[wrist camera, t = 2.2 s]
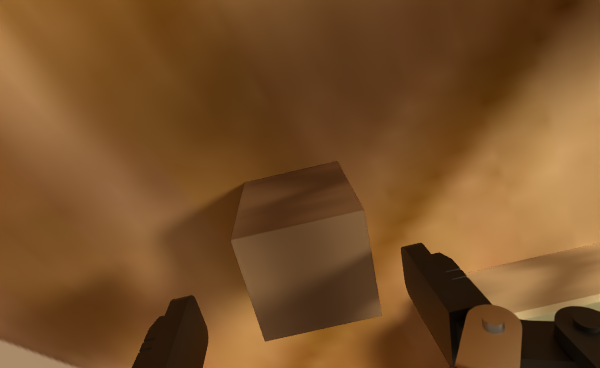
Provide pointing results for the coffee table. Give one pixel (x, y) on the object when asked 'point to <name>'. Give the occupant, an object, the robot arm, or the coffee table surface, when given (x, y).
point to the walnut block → (305, 252)
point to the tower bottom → (543, 282)
